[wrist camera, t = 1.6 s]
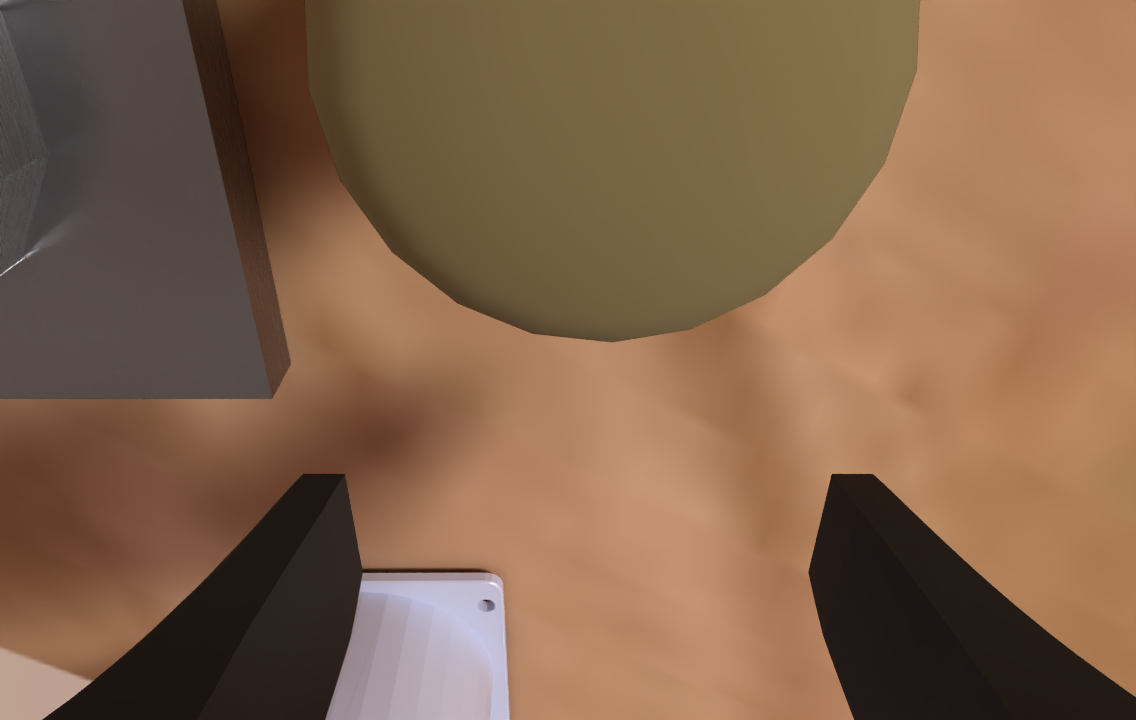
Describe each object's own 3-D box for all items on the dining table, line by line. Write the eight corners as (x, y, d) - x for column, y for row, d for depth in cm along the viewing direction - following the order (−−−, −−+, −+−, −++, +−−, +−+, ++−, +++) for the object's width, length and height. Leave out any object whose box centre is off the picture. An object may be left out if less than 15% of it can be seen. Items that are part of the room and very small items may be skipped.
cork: (393, 72, 16) (165, 358, 7) (457, -296, 13) (205, -718, 4) (674, 155, 17) (818, 505, 8) (794, -171, 14) (1276, -251, 5)
